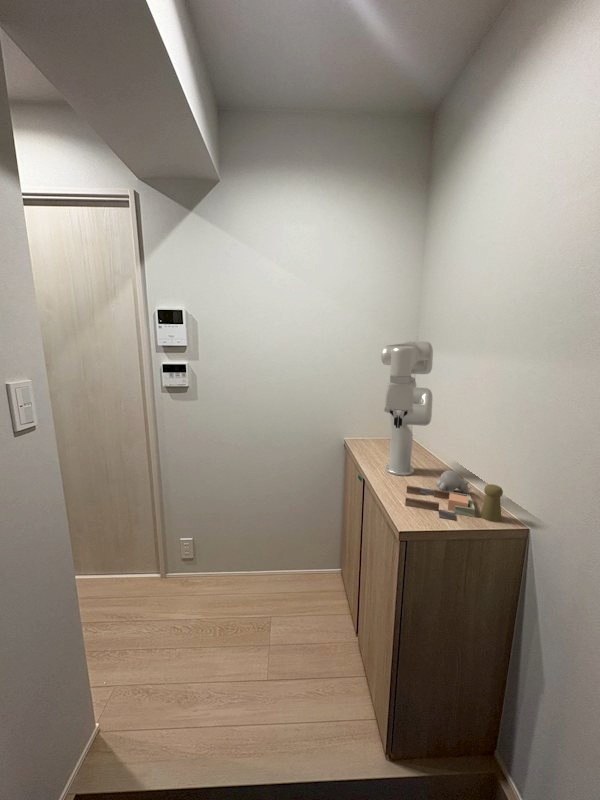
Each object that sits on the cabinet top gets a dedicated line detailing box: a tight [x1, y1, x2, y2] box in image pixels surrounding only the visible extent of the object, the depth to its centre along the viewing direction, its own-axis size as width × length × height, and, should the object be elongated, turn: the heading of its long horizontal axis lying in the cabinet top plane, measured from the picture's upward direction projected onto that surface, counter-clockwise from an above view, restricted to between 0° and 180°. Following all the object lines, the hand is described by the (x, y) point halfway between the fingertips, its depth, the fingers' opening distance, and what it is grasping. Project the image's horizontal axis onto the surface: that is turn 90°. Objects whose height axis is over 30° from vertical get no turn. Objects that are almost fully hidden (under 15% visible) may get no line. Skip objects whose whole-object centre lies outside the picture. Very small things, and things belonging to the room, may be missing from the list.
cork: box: [479, 483, 504, 523], centre depth 107 cm, size 6×6×11 cm
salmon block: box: [447, 493, 469, 512], centre depth 113 cm, size 6×6×4 cm
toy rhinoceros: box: [435, 470, 472, 494], centre depth 126 cm, size 7×12×8 cm, turn 81°
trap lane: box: [404, 485, 476, 522], centre depth 117 cm, size 22×22×2 cm
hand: (397, 427), depth 126 cm, fingers closed
